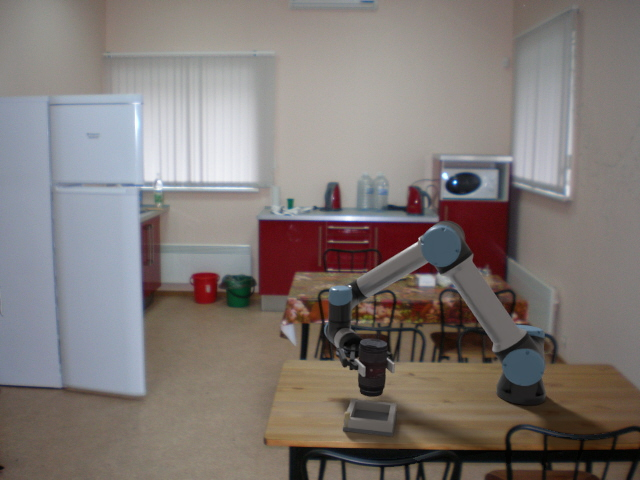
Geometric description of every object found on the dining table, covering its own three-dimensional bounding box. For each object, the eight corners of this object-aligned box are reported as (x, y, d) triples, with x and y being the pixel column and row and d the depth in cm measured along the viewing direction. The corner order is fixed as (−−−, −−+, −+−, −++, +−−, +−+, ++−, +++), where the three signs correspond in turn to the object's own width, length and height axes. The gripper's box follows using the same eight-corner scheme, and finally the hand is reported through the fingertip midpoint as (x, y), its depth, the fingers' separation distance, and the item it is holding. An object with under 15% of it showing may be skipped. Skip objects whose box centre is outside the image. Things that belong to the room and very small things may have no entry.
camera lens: (384, 399, 168) (386, 348, 165) (355, 396, 169) (357, 346, 167) (386, 388, 175) (388, 339, 173) (359, 385, 177) (361, 336, 175)
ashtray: (396, 414, 179) (397, 398, 178) (392, 436, 166) (393, 419, 165) (350, 409, 182) (351, 393, 181) (342, 430, 168) (343, 414, 168)
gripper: (380, 351, 192) (412, 379, 170) (317, 358, 185) (343, 387, 164) (381, 329, 190) (413, 353, 169) (318, 334, 184) (343, 361, 163)
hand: (378, 370), depth 166 cm, fingers closed on camera lens, 8 cm apart
